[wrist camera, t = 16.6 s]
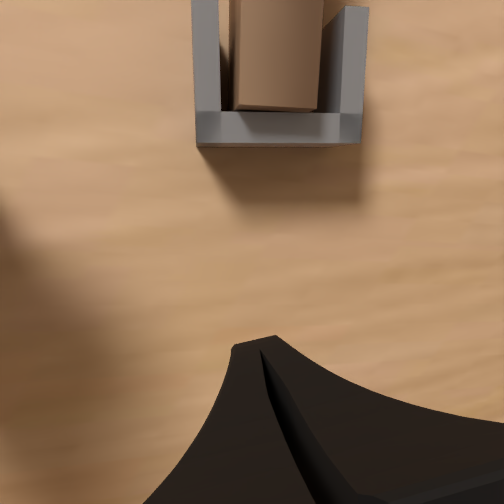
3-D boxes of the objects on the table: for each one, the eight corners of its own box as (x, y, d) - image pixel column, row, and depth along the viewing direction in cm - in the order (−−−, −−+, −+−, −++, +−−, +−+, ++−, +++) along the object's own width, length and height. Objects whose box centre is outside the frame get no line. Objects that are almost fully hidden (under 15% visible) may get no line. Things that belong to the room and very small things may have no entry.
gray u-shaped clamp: (196, 146, 18) (196, 142, 15) (191, 30, 17) (191, -4, 14) (330, 147, 19) (360, 143, 16) (335, 37, 18) (369, 7, 15)
